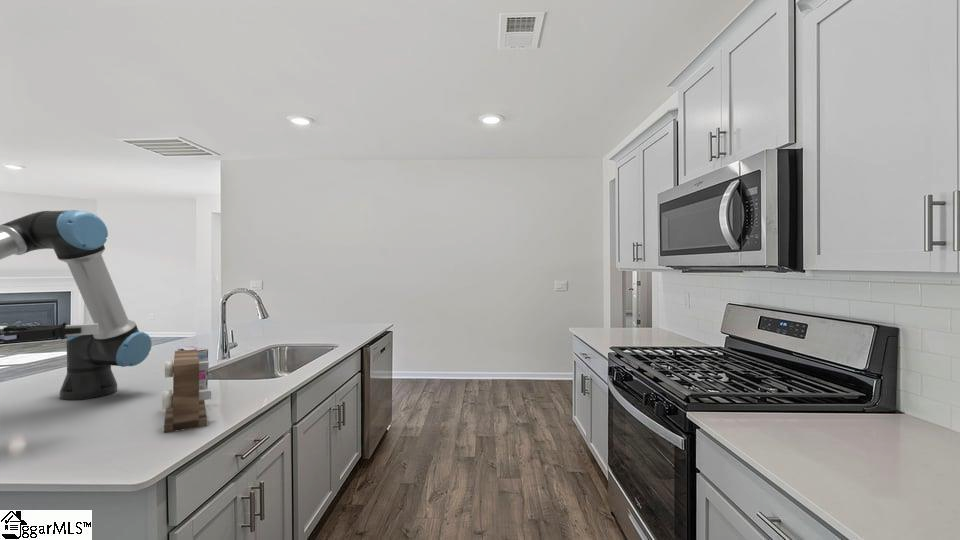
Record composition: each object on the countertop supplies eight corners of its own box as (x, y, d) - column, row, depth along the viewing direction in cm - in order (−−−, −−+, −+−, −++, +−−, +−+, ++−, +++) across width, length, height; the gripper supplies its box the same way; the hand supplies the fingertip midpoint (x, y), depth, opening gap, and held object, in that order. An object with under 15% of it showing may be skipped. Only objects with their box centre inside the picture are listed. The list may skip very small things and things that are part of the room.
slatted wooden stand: (166, 408, 143) (167, 351, 142) (203, 403, 148) (204, 348, 148) (164, 432, 123) (164, 366, 122) (207, 425, 128) (207, 362, 128)
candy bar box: (208, 396, 156) (209, 349, 156) (193, 400, 151) (193, 351, 151) (191, 391, 162) (192, 345, 161) (176, 394, 157) (176, 347, 157)
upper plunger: (165, 375, 142) (165, 359, 142) (207, 371, 148) (208, 356, 148) (164, 379, 138) (164, 362, 138) (208, 374, 144) (208, 359, 144)
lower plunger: (163, 406, 128) (163, 388, 128) (210, 400, 134) (210, 383, 134) (162, 411, 124) (162, 393, 123) (211, 404, 130) (211, 387, 130)
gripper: (-19, 347, 115) (101, 338, 128) (-39, 357, 104) (94, 346, 117) (-20, 317, 115) (101, 312, 128) (-40, 325, 104) (93, 317, 117)
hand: (97, 328), depth 122 cm, fingers closed
